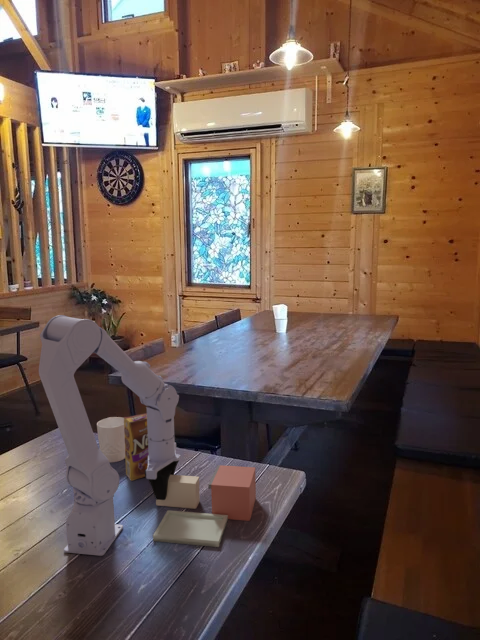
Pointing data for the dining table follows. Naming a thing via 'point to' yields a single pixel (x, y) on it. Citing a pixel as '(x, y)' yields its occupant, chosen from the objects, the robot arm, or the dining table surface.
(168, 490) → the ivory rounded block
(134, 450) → the candy box
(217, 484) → the coral matte cube
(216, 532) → the plate
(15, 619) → the dining table surface
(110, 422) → the white cup
